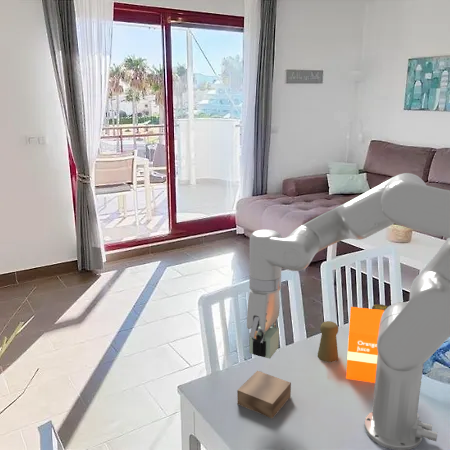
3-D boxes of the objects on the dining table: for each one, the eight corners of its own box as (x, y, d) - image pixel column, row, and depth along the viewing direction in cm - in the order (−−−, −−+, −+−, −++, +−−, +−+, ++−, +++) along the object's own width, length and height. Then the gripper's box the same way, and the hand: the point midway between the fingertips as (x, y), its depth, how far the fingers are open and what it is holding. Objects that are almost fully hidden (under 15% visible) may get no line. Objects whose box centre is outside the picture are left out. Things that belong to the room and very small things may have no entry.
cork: (336, 351, 140) (338, 318, 137) (339, 362, 134) (341, 328, 131) (316, 350, 140) (318, 318, 137) (318, 361, 135) (320, 328, 131)
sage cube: (278, 347, 115) (278, 328, 114) (270, 358, 111) (270, 338, 109) (258, 342, 118) (258, 323, 116) (249, 353, 113) (249, 333, 112)
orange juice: (346, 363, 134) (350, 300, 128) (378, 367, 131) (384, 304, 126) (345, 379, 126) (350, 313, 121) (379, 384, 124) (385, 317, 118)
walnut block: (290, 397, 120) (290, 382, 118) (272, 419, 112) (272, 404, 111) (257, 384, 125) (257, 370, 124) (237, 405, 117) (237, 390, 116)
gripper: (264, 267, 118) (263, 330, 123) (234, 292, 104) (235, 362, 109) (292, 272, 115) (290, 336, 120) (265, 298, 100) (264, 371, 105)
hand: (264, 348), depth 114 cm, fingers closed on sage cube, 5 cm apart
